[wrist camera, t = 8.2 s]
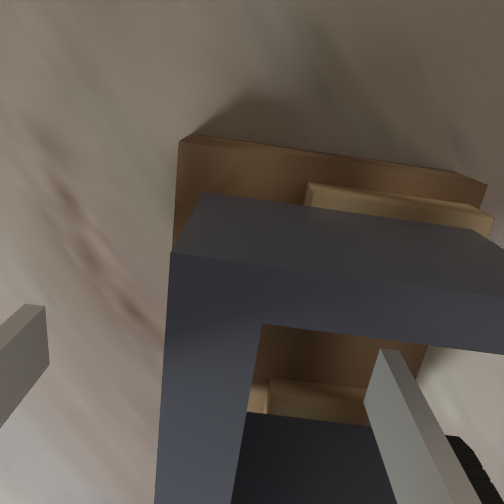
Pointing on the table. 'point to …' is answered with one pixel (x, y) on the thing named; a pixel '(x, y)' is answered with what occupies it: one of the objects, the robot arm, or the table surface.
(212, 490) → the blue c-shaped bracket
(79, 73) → the table surface
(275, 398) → the stand
